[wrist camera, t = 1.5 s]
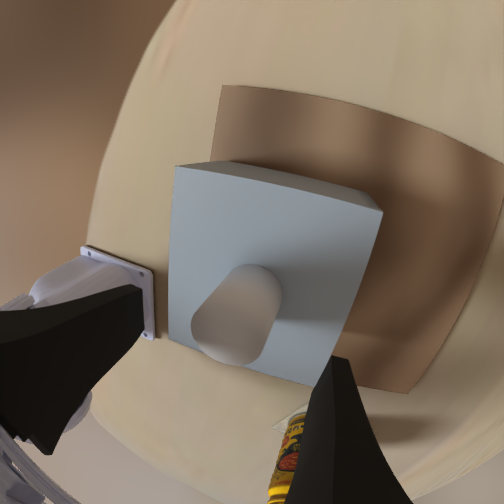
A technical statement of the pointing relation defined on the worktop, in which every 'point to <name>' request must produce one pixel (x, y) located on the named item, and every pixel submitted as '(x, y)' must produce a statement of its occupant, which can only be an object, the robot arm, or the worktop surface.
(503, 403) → the worktop surface
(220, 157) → the board
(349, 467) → the robot arm
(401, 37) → the worktop surface
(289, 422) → the condiment
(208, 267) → the cover
